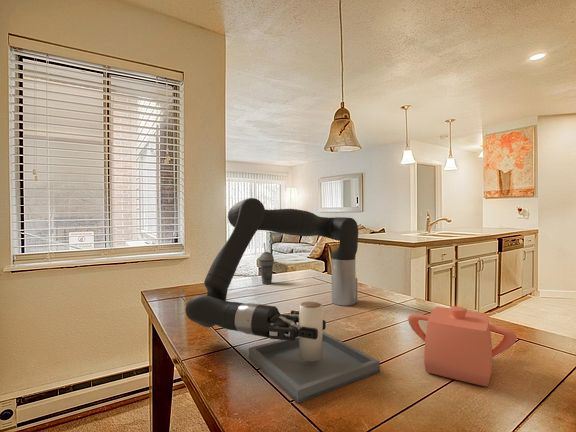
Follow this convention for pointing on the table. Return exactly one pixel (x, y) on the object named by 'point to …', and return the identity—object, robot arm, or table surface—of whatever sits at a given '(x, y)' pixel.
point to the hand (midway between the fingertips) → (321, 329)
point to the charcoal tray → (312, 366)
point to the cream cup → (313, 319)
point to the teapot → (460, 343)
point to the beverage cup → (266, 266)
